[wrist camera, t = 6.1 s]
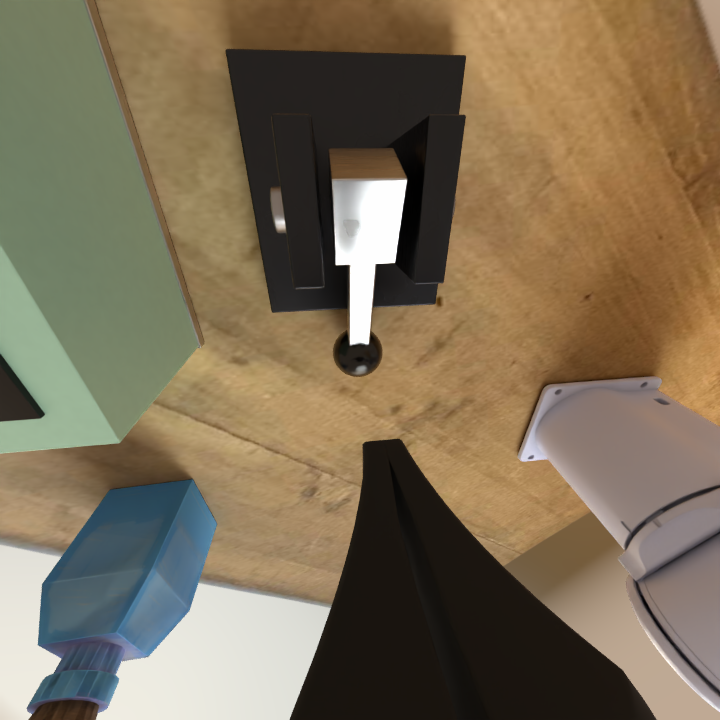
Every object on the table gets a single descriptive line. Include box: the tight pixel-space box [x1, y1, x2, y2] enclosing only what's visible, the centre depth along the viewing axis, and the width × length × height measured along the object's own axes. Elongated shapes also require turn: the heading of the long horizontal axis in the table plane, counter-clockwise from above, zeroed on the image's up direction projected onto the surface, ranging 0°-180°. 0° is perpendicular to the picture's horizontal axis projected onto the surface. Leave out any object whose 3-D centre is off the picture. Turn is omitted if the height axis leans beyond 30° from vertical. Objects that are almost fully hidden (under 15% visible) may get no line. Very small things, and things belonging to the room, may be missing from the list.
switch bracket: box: [226, 49, 466, 313], centre depth 11 cm, size 10×9×7 cm
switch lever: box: [328, 148, 408, 377], centre depth 13 cm, size 11×3×3 cm, turn 179°
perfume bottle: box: [27, 479, 217, 720], centre depth 19 cm, size 6×6×12 cm
